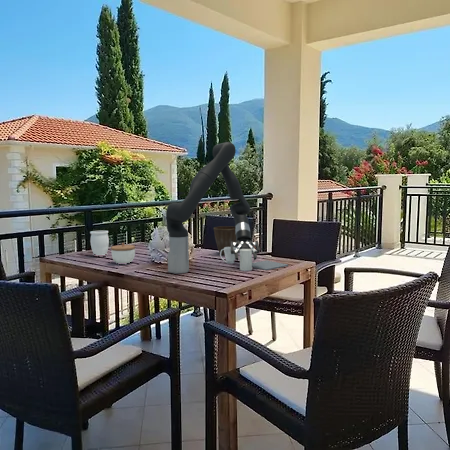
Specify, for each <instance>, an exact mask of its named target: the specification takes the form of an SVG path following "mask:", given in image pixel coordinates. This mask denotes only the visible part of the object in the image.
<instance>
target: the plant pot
mask: <svg viewBox="0 0 450 450" xmlns="http://www.w3.org/2000/svg"><path fill="white" fill-rule="evenodd" d="M235 229H236V227H235V226H229V225H228V226H227V225H225V226H214V227H213V232H214V239H215V243H216V246H217V250H218V253H219V254H220V251H221V250H222V249H224V248H225V247H231V242H232V241H233V243H236V242H237V241H236V231H235ZM221 256H225V253H224V250H222V252H221Z"/></svg>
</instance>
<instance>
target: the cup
mask: <svg viewBox="0 0 450 450" xmlns="http://www.w3.org/2000/svg"><path fill="white" fill-rule="evenodd" d="M236 249H237V246H235V247H233V250H236ZM222 250H224V253H225V255H224V257H225V259H224V258H223V255H221V252H222ZM222 250H221V251H220V253H219V256H220V258H221V260H222V261H224V262H225V263H226V264H235V254H231V247H225V248H224V249H222Z"/></svg>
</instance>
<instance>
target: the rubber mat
mask: <svg viewBox="0 0 450 450" xmlns="http://www.w3.org/2000/svg"><path fill="white" fill-rule="evenodd" d="M288 265H289V264H288V263H287V264H286V263H282V262H276V261H272V260H271V261H270V260H268V259H267V260H261V261H256V262H252V269H253V268H254V269H257V270H263V271H269V270H275V269H280V267H281V268H286V267H289V266H288ZM285 266H286V267H285Z"/></svg>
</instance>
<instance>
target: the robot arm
mask: <svg viewBox="0 0 450 450" xmlns="http://www.w3.org/2000/svg"><path fill="white" fill-rule="evenodd" d="M236 149H237V148H236V146H235V144H234V143H233V142H229V141H226V142H222V143H217V144H215V145H214V146H213V148H212V156H213V159H211V161H209V162H208V163H207V164H206V165H204V166H203V167H202V168H200V170H199V171H198V172H196V174H195V175H194V177H193V178H192V180H191V183H190V186H189V190H188V191H189V192H188V194H187V195H186V197H185V198H184V199H183V201H181V202H171V203H170V204H168V206H166V207H167V208H166V211H165V217H166V218H165V220H166V230H167V232H168V247H169V250H168V252H167V272H168V273H171V274H186V273H188V272H190V256H189V255H190V253H189V230H188V229H187V228H186V227H185V226H184V223H186V222H187V221H189V219H190V218H191V216H192V215H193V214H194V212H195V210H196V208H197V206H198V205H199V203H200V201H201V200H202V199H203V198H204V196H205V195H206V193H208V191H209V189H210V188H211V186H213V184H214V182H216V181H215V180H217V178H218V177H219V176H220V174H221V176H222V178H223V180H224V183H225V186H226V188H227V189H226V190H227V193H228V196H229V198H230V200H231V201H236V200H237V201H240V202H237V203H233V204H232V205H231V206H230V208H229V211H230V213H231V215H232V217H233V220H234V227H236V229H235V231H236V243H233V241H232V242H231V254H235V260H236V261H237V262H239V253H240V249H252V255H253V256H252V258H253V261H256V260H257V259H258V254H260V244H259V241H258V240H256V241H252V235H251V228H250V223H249V217H248V216H247V215H249V214H250V211H251V205H250V203H248V201H247V199H246V197H245V196H244V193H243V191H242V187H241V184H240V181H239V179H238V178H237V176H236V175H235V173H234V172H233V170H232V169H231V168H230V166H229V163H230V162H231V161H232V160H233V159H234V157H235V155H236V151H237V150H236ZM233 247H236V248H237V249H236V250H233ZM235 260H234V261H235Z"/></svg>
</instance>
